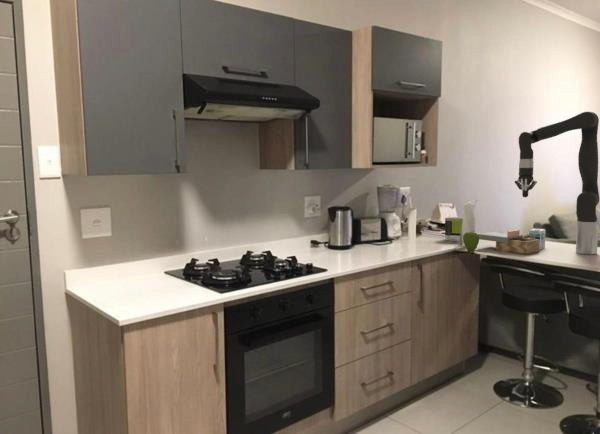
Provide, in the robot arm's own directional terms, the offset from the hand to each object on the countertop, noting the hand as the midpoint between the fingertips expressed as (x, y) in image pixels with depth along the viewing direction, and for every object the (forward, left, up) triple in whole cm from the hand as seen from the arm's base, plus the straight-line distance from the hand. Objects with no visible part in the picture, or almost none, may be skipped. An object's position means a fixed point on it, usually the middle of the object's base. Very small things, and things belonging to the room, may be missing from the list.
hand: (525, 197), depth 293 cm
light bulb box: (-7, -2, -29) cm, 30 cm away
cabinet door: (+5, +17, -24) cm, 29 cm away
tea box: (+40, +7, -29) cm, 50 cm away
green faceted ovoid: (+10, +36, -29) cm, 47 cm away
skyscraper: (+22, +22, -30) cm, 43 cm away
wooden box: (-6, +17, -29) cm, 34 cm away
